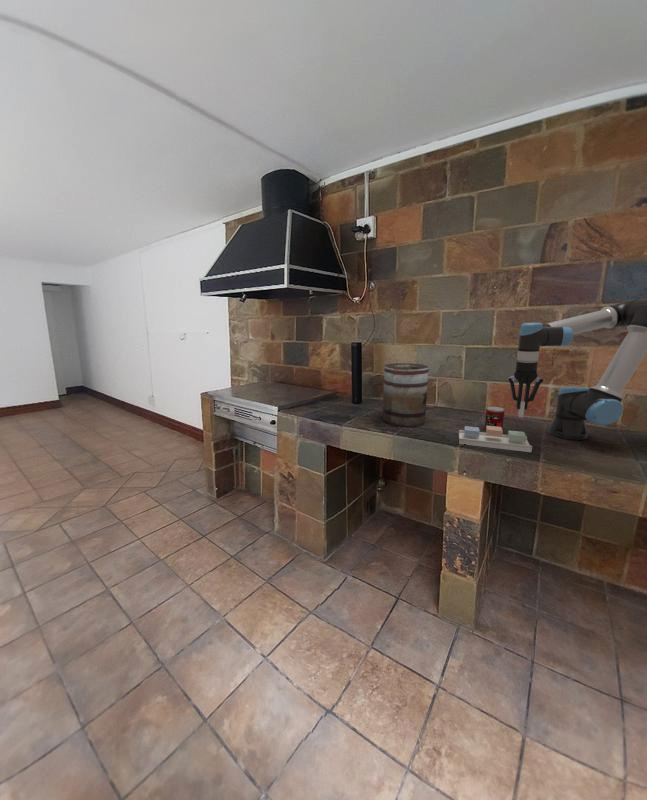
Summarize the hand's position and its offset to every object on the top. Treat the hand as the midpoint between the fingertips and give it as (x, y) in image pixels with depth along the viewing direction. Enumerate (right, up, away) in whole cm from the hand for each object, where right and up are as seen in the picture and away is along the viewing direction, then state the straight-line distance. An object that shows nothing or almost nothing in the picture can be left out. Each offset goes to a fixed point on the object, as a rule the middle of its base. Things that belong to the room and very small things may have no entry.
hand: (520, 416), depth 144 cm
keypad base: (-9, -12, +6) cm, 16 cm away
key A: (0, -10, +3) cm, 11 cm away
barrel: (-41, -5, +39) cm, 57 cm away
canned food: (0, -8, +24) cm, 25 cm away
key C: (-17, -9, +9) cm, 21 cm away
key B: (-9, -8, +5) cm, 13 cm away
